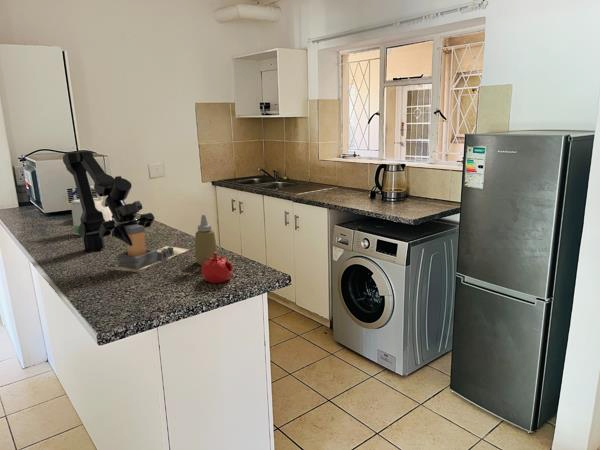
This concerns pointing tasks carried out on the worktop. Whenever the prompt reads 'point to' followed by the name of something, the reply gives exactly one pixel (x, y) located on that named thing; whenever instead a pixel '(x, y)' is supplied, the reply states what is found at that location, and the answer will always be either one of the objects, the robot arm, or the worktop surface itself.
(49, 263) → the worktop surface
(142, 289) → the worktop surface
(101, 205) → the kettle
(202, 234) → the squeeze bottle
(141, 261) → the board
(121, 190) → the robot arm
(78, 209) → the skincare box
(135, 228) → the plug
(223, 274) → the pomegranate
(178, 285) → the worktop surface
